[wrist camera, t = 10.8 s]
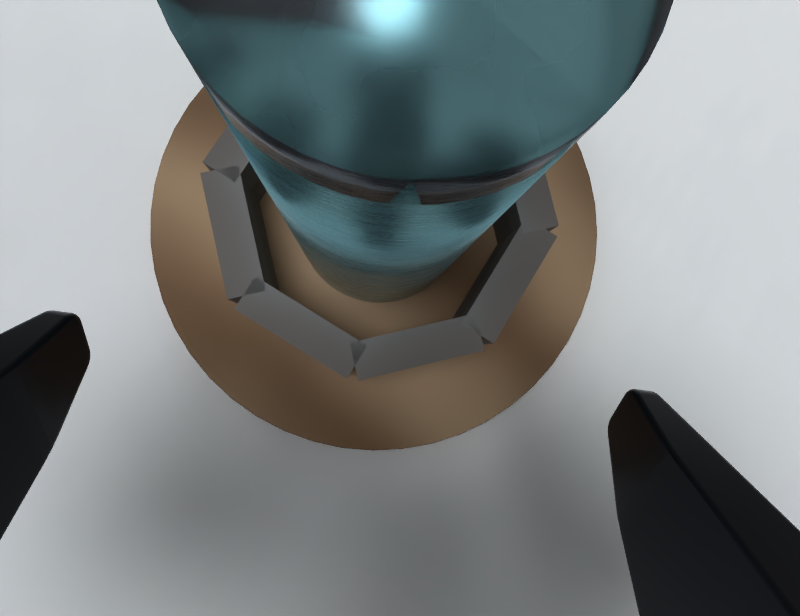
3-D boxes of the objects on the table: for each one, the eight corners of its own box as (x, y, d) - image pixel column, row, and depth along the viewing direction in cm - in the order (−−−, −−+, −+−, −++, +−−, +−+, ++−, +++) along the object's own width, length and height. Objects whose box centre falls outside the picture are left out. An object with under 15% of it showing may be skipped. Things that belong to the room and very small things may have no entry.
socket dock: (447, 525, 17) (471, 573, 14) (77, 296, 17) (-3, 281, 13) (653, 172, 19) (724, 127, 15) (314, -42, 19) (302, -142, 15)
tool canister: (486, 256, 17) (775, 36, 5) (346, 331, 17) (303, 280, 5) (411, 119, 17) (520, -402, 5) (270, 189, 17) (41, -212, 5)
